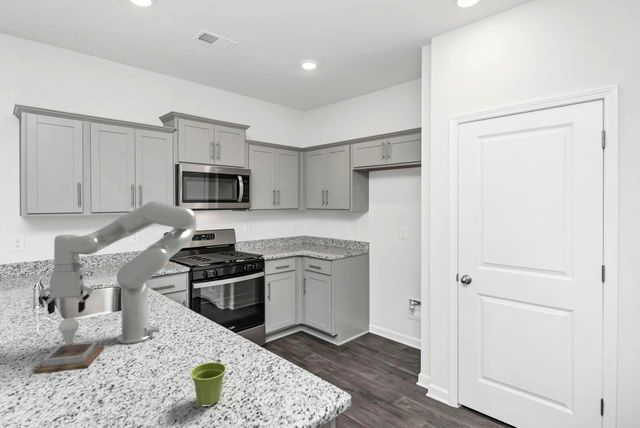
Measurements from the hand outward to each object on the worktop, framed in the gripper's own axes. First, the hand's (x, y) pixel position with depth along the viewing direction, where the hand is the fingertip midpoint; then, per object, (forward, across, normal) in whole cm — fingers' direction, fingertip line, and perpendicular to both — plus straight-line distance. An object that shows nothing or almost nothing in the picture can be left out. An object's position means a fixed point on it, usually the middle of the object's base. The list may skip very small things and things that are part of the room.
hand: (66, 312), depth 128 cm
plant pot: (+12, -55, +50) cm, 75 cm away
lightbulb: (+14, -1, 0) cm, 14 cm away
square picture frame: (+13, -7, +13) cm, 20 cm away
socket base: (+13, -7, +13) cm, 20 cm away
